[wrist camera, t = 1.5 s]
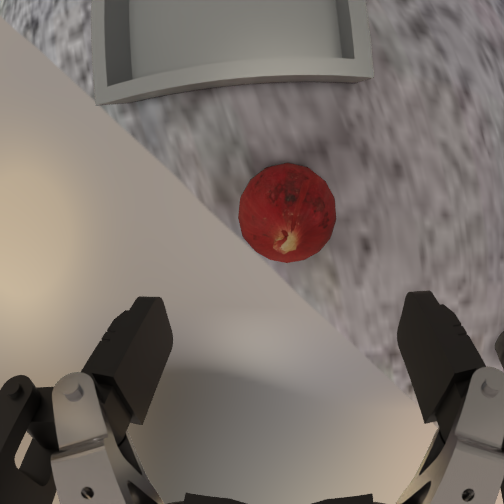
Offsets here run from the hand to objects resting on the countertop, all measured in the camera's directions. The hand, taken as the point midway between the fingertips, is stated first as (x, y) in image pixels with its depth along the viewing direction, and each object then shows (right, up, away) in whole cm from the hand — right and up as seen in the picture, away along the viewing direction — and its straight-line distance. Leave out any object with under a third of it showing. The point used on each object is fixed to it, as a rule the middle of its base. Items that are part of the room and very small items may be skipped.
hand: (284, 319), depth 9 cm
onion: (+1, +6, +12) cm, 14 cm away
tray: (-3, +20, +5) cm, 21 cm away
